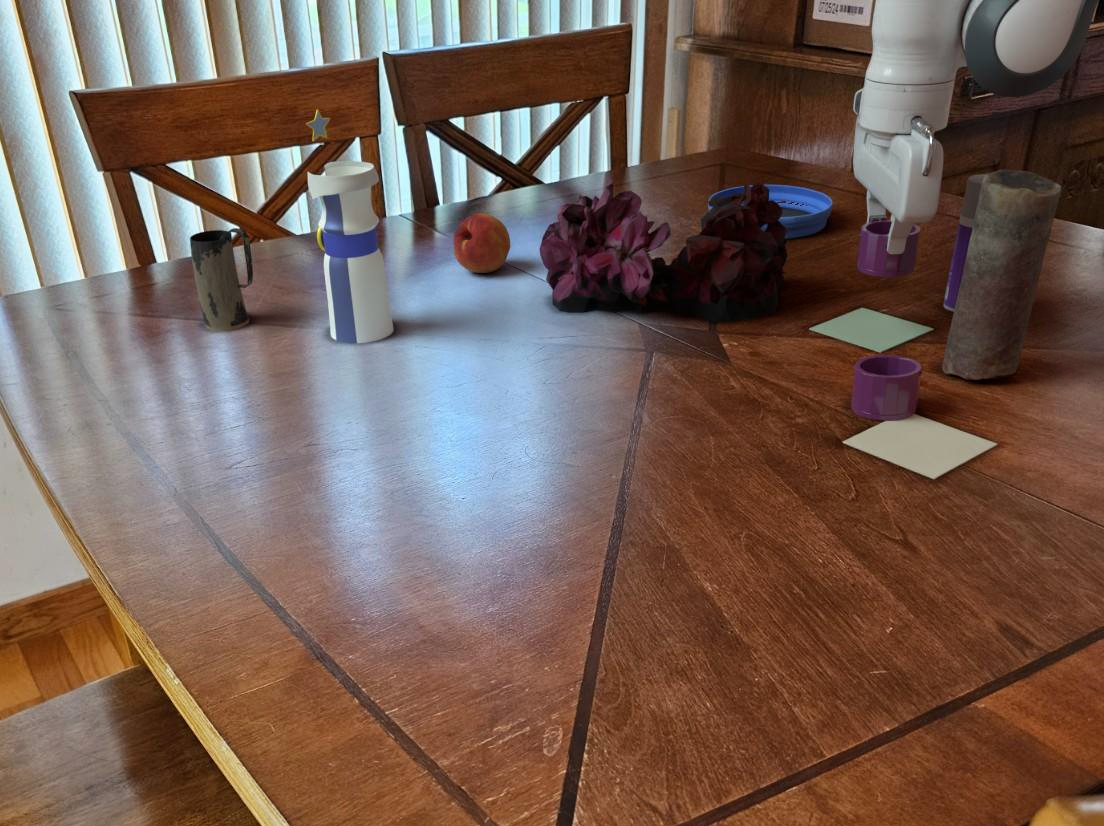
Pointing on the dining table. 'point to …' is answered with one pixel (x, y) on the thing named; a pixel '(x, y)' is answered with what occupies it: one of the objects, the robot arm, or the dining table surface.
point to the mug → (220, 278)
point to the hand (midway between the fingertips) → (884, 241)
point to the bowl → (794, 208)
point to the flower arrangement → (649, 284)
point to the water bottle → (350, 248)
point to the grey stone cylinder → (1000, 274)
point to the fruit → (481, 243)
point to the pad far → (871, 329)
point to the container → (962, 239)
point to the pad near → (920, 445)
